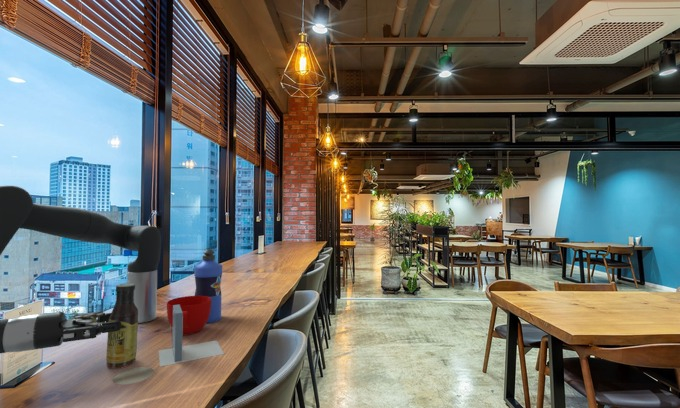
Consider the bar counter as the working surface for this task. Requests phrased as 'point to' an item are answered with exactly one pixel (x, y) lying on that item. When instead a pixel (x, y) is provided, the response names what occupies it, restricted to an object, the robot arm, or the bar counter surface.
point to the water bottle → (209, 283)
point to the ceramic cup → (191, 312)
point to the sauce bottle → (123, 329)
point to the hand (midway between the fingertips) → (121, 320)
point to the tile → (177, 333)
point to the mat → (191, 352)
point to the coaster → (133, 375)
